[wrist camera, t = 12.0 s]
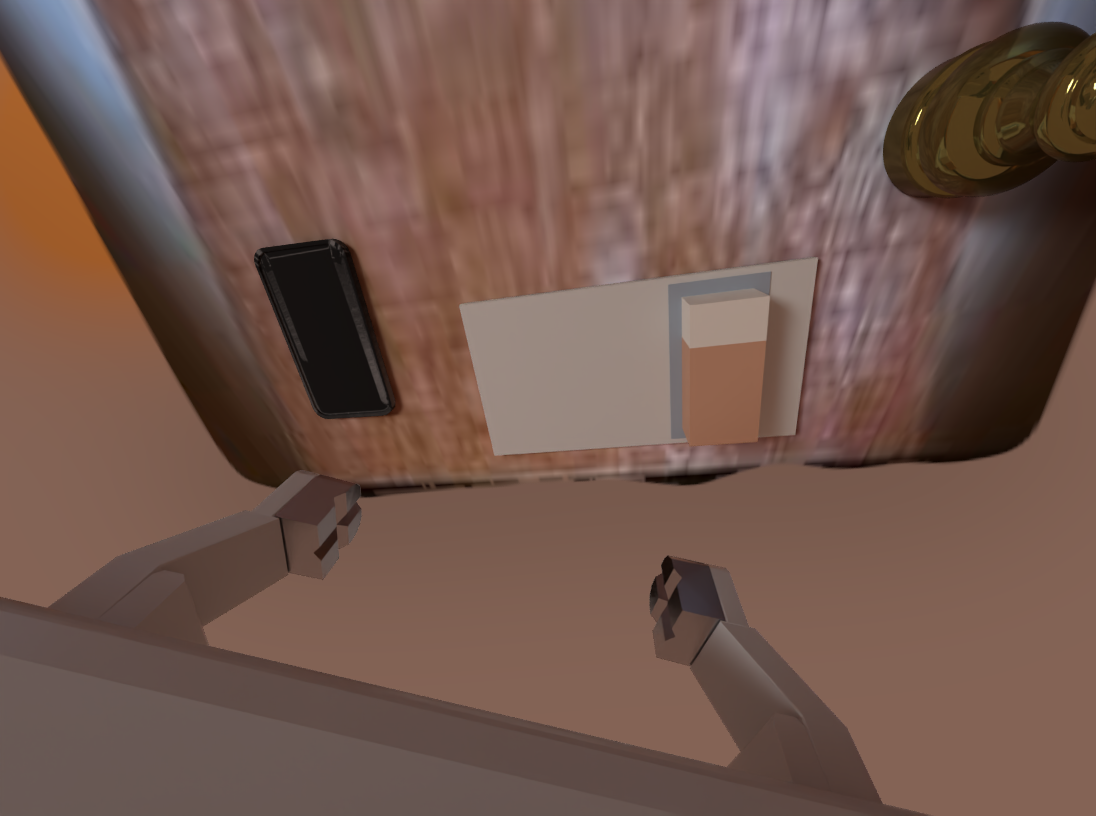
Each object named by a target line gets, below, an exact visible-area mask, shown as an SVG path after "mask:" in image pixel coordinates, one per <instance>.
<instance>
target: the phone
mask: <svg viewBox="0 0 1096 816" xmlns="http://www.w3.org/2000/svg"><path fill="white" fill-rule="evenodd" d="M254 262H255V265H256V268H257V270H258V273H259V275H260V278H261V280H262V283H263V285H264V288H265V290H266V293H267V295H268V298H269V300H270V303H271V305H272V307H273V310H274V312H275V315H276V317H277V320H278V322H279V325H280V327H281V330H282V332H283V335H284V337H285V340H286V342H287V345H288V347H289V350H290V352H291V355H292V357H293V360H294V362H295V365H296V367H297V370H298V372H299V375H300V377H301V380H302V382H303V385H304V387H305V390H306V392H307V395H308V397H309V400H310V402H311V405H312V407H313V409H314V411H315V412H316V413H317V415H319V416H320V417H322V418H325V419H336V418H352V417H367V416H383V415H387V414H388V413H390V412H391V411H392V410H393V408H394V407H395V398H394V395H393V392H392V389H391V385H390V382H389V379H388V375H387V372H386V369H385V366H384V362H383V359H382V356H381V353H380V349H379V346H378V343H377V339H376V336H375V333H374V330H373V326H372V323H371V320H370V316H369V313H368V310H367V307H366V303H365V300H364V297H363V294H362V290H361V287H360V284H359V280H358V277H357V274H356V271H355V267H354V264H353V261H352V258H351V254H350V252H349V249H348V248H347V246H346V245H345V244H344V243H343V242H341V241H339V240H337V239H326V240H318V241H311V242H303V243H296V244H288V245H281V246H273V247H266V248H261V249H258V250H257V251H256V253H255V255H254Z"/></svg>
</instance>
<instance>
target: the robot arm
mask: <svg viewBox="0 0 1096 816" xmlns="http://www.w3.org/2000/svg"><path fill="white" fill-rule="evenodd" d="M360 496H361V491H360V486H359V485H358V484H356V483H352V482H348V481H344V480H340V479H336V478H333V477H329V476H325V475H321V474H320V475H319V474H315V473H311V472H308V471H304V470H301V471H298V472H295V473H294V474H293V475H292V476H291V477H289V478H288V479H287V480H286V481H285V482H284V483H283V484H282V485H280V486H279V487H278V488H277V489H276V490H275V491H274V492H273V493H271V494H270V495H269V496H268V497H267V498H266V499H265V500H264V501H262V502H261V503H260V504H259V505H258V506H257V507H256V508H255V509H253V510H252V511H246V510H245V511H242V512H239V513H237V514H234V515H231V516H228V517H225V518H223V519H220V520H217V521H214V522H212V523H209V524H206V525H203V526H200V527H197V528H195V529H192V530H189V531H186V532H184V533H181V534H178V535H175V536H173V537H170V538H167V539H164V540H161V541H159V542H156V543H153V544H150V545H147V546H145V547H142V548H139V549H136V550H134V551H131V552H128V553H125V554H123V555H120V556H117V557H115V558H114V559H113V560H111V561H110V562H109V563H107V564H106V565H105V566H103V567H102V568H101V569H99V570H98V571H96V572H95V573H94V574H93V575H91V576H90V577H88V578H87V579H86V580H84V581H83V582H82V583H80V584H79V585H78V586H76V587H75V588H74V589H72V590H71V591H70V592H68V593H67V594H65V595H64V596H63V597H62V598H60V599H59V600H57V601H56V602H55V603H53V604H52V605H50V606H49V607H48V608H46V607H41V606H37V605H33V604H29V603H25V602H20V601H16V600H12V599H8V598H3V597H0V816H932V815H928V814H924V813H919V812H915V811H911V810H907V809H902V808H898V807H894V806H889V805H885V804H883V803H882V801H881V799H880V797H879V795H878V793H877V790H876V788H875V786H874V784H873V782H872V780H871V778H870V776H869V773H868V771H867V769H866V767H865V765H864V763H863V761H862V759H861V757H860V754H859V752H858V750H857V748H856V746H855V744H854V742H853V739H852V737H851V735H850V733H849V731H848V729H847V727H846V726H845V725H844V724H843V723H842V722H841V721H840V720H839V719H838V717H836V715H835V714H834V713H833V712H832V711H831V710H830V709H829V708H828V707H827V706H826V705H825V703H823V701H822V700H821V699H820V698H819V697H818V696H817V695H816V694H815V693H814V692H813V691H812V690H811V688H810V687H809V686H808V685H807V684H806V683H805V682H804V681H803V680H802V679H801V678H800V677H799V675H798V674H797V673H796V672H795V671H794V670H793V669H792V668H791V667H790V666H789V665H788V664H787V662H786V661H785V660H784V659H783V658H782V657H781V656H780V655H779V654H778V653H777V652H776V651H775V650H774V649H773V647H772V646H771V645H770V644H769V643H768V642H767V641H766V640H765V639H764V638H763V637H762V636H761V635H760V634H759V632H758V631H757V630H756V629H755V628H751V627H749V625H748V623H747V620H746V617H745V614H744V612H743V609H742V606H741V604H740V601H739V598H738V595H737V593H736V590H735V587H734V584H733V581H732V578H731V576H730V573H729V571H728V570H727V569H726V568H723V567H719V566H715V565H709V564H704V563H700V562H696V561H691V560H687V559H682V558H677V557H673V556H669V555H668V556H667V557H665V558H664V560H663V562H662V564H661V568H662V574H660V575H658V576H656V577H655V579H654V581H653V584H652V586H651V592H650V614H651V616H652V617H653V618H654V619H655V621H656V622H657V623H656V625H655V627H654V629H653V638H654V645H655V653H656V657H657V658H661V659H664V660H668V661H672V662H676V663H680V664H684V665H687V666H691V667H690V669H691V671H692V672H693V674H694V676H695V677H696V679H697V680H698V682H699V684H700V686H701V687H702V689H703V691H704V692H705V694H706V695H707V697H708V699H709V700H710V702H711V704H712V705H713V707H714V709H715V710H716V712H717V714H718V715H719V717H720V718H721V720H722V722H723V723H724V725H725V727H726V728H727V730H728V732H729V733H730V735H731V736H732V738H733V740H734V742H735V743H736V745H737V746H738V748H739V750H740V751H741V752H740V753H739V754H738V755H737V757H735V759H734V760H733V761H732V762H731V763H730V764H729V765H728V766H727V767H723V766H719V765H715V764H711V763H706V762H702V761H698V760H694V759H689V758H685V757H681V756H676V755H672V754H667V753H664V752H659V751H655V750H650V749H646V748H642V747H638V746H634V745H630V744H625V743H621V742H617V741H613V740H608V739H604V738H599V737H595V736H591V735H587V734H583V733H578V732H574V731H570V730H565V729H561V728H557V727H553V726H549V725H544V724H540V723H536V722H531V721H527V720H523V719H519V718H515V717H510V716H506V715H502V714H497V713H493V712H489V711H485V710H480V709H476V708H472V707H468V706H463V705H459V704H455V703H450V702H446V701H442V700H438V699H433V698H429V697H425V696H420V695H416V694H412V693H408V692H403V691H399V690H395V689H390V688H386V687H382V686H377V685H373V684H369V683H365V682H361V681H356V680H352V679H348V678H344V677H339V676H335V675H331V674H326V673H322V672H318V671H314V670H309V669H305V668H300V667H296V666H292V665H288V664H284V663H280V662H275V661H271V660H267V659H263V658H258V657H254V656H250V655H245V654H241V653H237V652H233V651H228V650H224V649H220V648H216V647H211V646H209V644H208V641H207V638H206V635H205V632H204V629H203V626H205V625H206V624H208V623H210V622H211V621H213V620H214V619H216V618H218V617H219V616H221V615H223V614H224V613H226V612H228V611H229V610H231V609H233V608H234V607H236V606H238V605H239V604H241V603H243V602H244V601H246V600H248V599H249V598H251V597H253V596H254V595H256V594H257V593H259V592H261V591H262V590H264V589H266V588H267V587H269V586H270V585H272V584H274V583H276V582H277V581H279V580H281V579H282V578H284V577H286V576H287V575H288V573H292V574H297V575H302V576H307V577H312V578H317V579H322V580H323V579H324V578H325V576H326V575H327V574H328V572H329V571H330V570H331V568H332V567H333V565H334V564H335V563H336V561H337V560H338V559H339V552H338V549H340V548H342V547H344V546H346V545H348V544H349V543H350V542H351V541H352V539H353V538H354V536H355V534H356V532H357V530H358V527H359V525H360V521H361V508H360V506H359V505H358V504H357V502H356V501H357V500H358V499H359V497H360Z"/></svg>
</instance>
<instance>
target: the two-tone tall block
mask: <svg viewBox="0 0 1096 816" xmlns="http://www.w3.org/2000/svg"><path fill="white" fill-rule="evenodd" d="M769 303H770V296H769V295H767V294H765V293H763V292H761V291H759V290H757V289H755V288H751V289H743V290H735V291H727V292H719V293H711V294H703V295H695V296H686V297H682V429H683V431H684V434H685V436H686V439H687V441H688V444H689V446H702V445H717V444H732V443H747V442H758V432H759V420H760V409H761V397H762V385H763V373H764V361H765V350H766V338H767V326H768V314H769Z"/></svg>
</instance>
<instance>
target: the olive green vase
mask: <svg viewBox="0 0 1096 816" xmlns="http://www.w3.org/2000/svg"><path fill="white" fill-rule="evenodd" d="M1095 159H1096V32H1095V33H1094V34H1092V35H1091V36H1090V35H1089V34H1088V33H1087V32H1085V31H1084V30H1082V29H1081V28H1079V27H1077V26H1074V25H1071V24H1068V23H1063V22H1041V23H1034V24H1030V25H1026V26H1023V27H1020V28H1017V29H1015V30H1012V31H1010V32H1008V33H1005V34H1004V35H1002V36H1000V37H998V38H996V39H994V40H993V41H989V42H986V43H983V44H980V45H978V46H976V47H973V48H971V49H970V50H968V51H966V52H964V53H962V54H961V55H959V56H957V57H954V58H952V59H949V60H947V61H945V62H943V63H942V64H940V65H938V66H937V67H935V68H934V69H932V70H931V71H929V72H928V73H927V74H926V75H924V76H923V77H922V78H921V79H920V80H919V81H918V82H917V83H916V84H915V85H914V86H913V87H912V88H911V89H910V90H909V91H908V92H907V94H906V95H905V96H904V98H903V99H902V100H901V102H900V103H899V105H898V107H897V108H896V110H895V112H894V114H893V116H892V118H891V120H890V122H889V125H888V128H887V131H886V135H885V139H884V146H883V160H884V166H885V169H886V172H887V174H888V176H889V178H890V180H891V181H892V183H893V184H894V185H895V186H896V187H897V188H898V189H900V190H901V191H903V192H904V193H906V194H909V195H911V196H915V197H921V198H933V197H938V198H957V197H963V196H965V197H984V196H991V195H995V194H999V193H1002V192H1005V191H1008V190H1011V189H1014V188H1016V187H1018V186H1020V185H1022V184H1024V183H1026V182H1028V181H1030V180H1031V179H1033V178H1035V177H1036V176H1038V175H1039V174H1041V173H1042V172H1044V171H1045V170H1046V169H1048V168H1049V167H1050V166H1051V165H1053V164H1054V163H1055V162H1056V161H1057V160H1061V161H1065V162H1084V161H1090V160H1095Z"/></svg>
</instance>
